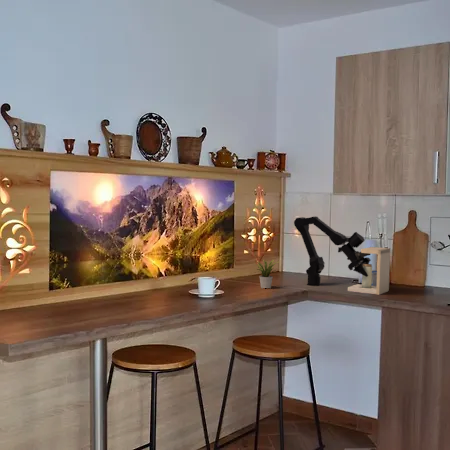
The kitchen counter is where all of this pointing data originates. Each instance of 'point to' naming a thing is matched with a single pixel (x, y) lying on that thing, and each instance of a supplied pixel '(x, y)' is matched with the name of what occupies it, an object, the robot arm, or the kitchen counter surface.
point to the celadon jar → (367, 280)
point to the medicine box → (374, 278)
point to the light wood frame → (382, 272)
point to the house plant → (266, 274)
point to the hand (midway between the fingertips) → (369, 275)
